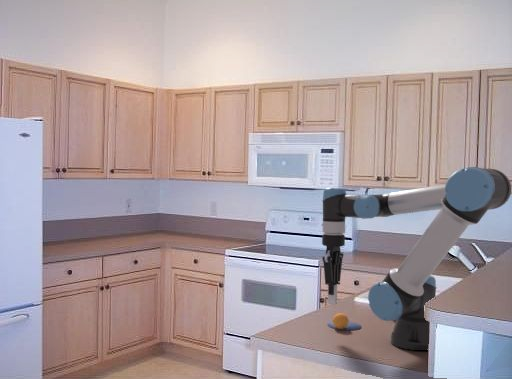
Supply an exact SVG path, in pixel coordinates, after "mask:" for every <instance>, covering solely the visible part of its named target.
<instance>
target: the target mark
mask: <svg viewBox="0 0 512 379" xmlns="http://www.w3.org/2000/svg"><path fill="white" fill-rule="evenodd" d="M327 326H328V327H329V328H331V329H334V330H339V331H358V330H360V329H362V325H361V324H360V323H357V322H352V321H349V323H348V325H347V327H346V328H344V329H338V328H336V327H335V326H334V324H333V321H329V322H328V323H327Z"/></svg>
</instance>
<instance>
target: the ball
mask: <svg viewBox="0 0 512 379" xmlns="http://www.w3.org/2000/svg"><path fill="white" fill-rule="evenodd" d="M332 322H333V324H334V326H335V327H336V328H338V329H344V328H346V327H347V325H348V323H349V322H350V321H349V318H348V316H347V314H345V313H342V312H341V313H340V312H339V313H338V312H337V313H336V314H335V315H334V316H333V318H332ZM338 329H337V330H338Z"/></svg>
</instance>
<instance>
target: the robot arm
mask: <svg viewBox="0 0 512 379" xmlns="http://www.w3.org/2000/svg"><path fill="white" fill-rule="evenodd" d="M511 194H512V184H511V181H510V179H509V177H508V176H507V175H506V174H505V173H504V172H502V171H500V170H499V169H494V168H486V167H485V168H483V167H477V166H470V167H464V168H460V169H458V170H456V171H455V172H454V173H452V174H451V175H450V176H449V177H448V179H447V180H446V183H444V184H438V185H433V186H432V185H431V186H426V187H419V188H413V189H407V190H401V191H394V192H386V193H381V194H365V193H364V194H348V193H347V190H346V189H345V188H341V187H338V188H337V187H326V188H324V190H323V193H322V200H321V201H322V223H321V226H322V233H323V234H322V237H321V244H322V245H323V246H324V247H326V249H325V255H322V261H323V272H324V273H323V274H324V283H325V285H327V304H328V305H332V306H333V305H334V306H336V305H337V304H338V285H341V274H342V266H343V260H344V259H343V258H344V252H341V247H344V246H346V245H345V244H346V236H345V233H346V218H356V219H362V220H366V219H374V218H378V217H379V218H384V217H385V218H387V217H392V216H396V215H397V216H398V215H404V214H412V213H420V212H421V213H422V212H429V211H436V210H437V211H439V212H438V213H437V214H436V216H435V217H434V218H433V220H432V221H431V223H430V224H429V225H428V227H427V228H426V229H425V230H424V232H423V233H422V235H421V236H420V238H419V239H418V240H417V242H416V243H415V245H414V246H413V248H412V249H411V250H410V251H409V253H408V254H407V256H406V257H405V258H404V260H403V261H402V262H401V264H400V265H399V267H394V268H391V269H390V270H389V272H388V273H387V274H386V275H385V277H384V279H383V280H382V281H380V282H379V281H378V282H376V283H375V284H373V285H372V286H371V287H370V289H369V291H368V294H367V300H368V302H369V303H368V305H369V307H370V310H371V312H372V313H373V314H374V316H375V317H377V318H379V319H380V320H381V321H385V322H391V321H392V322H393V321H395V324H394V326H393V328H392V329H393V331H392V332H391V333H390V343H391V344H392V345H393V346H395V347H397V348H399V347H400V348H399V349H403V348H404V350H407V349H410V350H409V351H413V350H427V349H428V344H429V322H428V321H426V320H425V318H424V305H425V303H426V302H428V301H429V300H431V299H432V298H434V297H435V298H436V294H437V293H436V290H437V286H436V285H437V284H436V282H437V281H436V278H435V277H434V276H433V275H432V274H433V273H434V271H436V268H438V266H439V265H440V264H441V263H442V261H443V260H444V258H445V257H446V255H447V254H448V253H449V252H450V251H451V249H452V248H453V247H454V245H455V244H456V243H457V241H458V240H459V239H460V237H461V236H462V235H463V234H464V232H465V231H466V230H467V228H468V227H469V226H471V225H476V224H478V223H479V222H480V221H481V219H482V218H483V217H484V216H485V214H486V213H487V212H488V211H489V210H495V209H499V208H500V207H503V205H505V204H506V203H507V202H508V201H509V199H510V197H511Z"/></svg>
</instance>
